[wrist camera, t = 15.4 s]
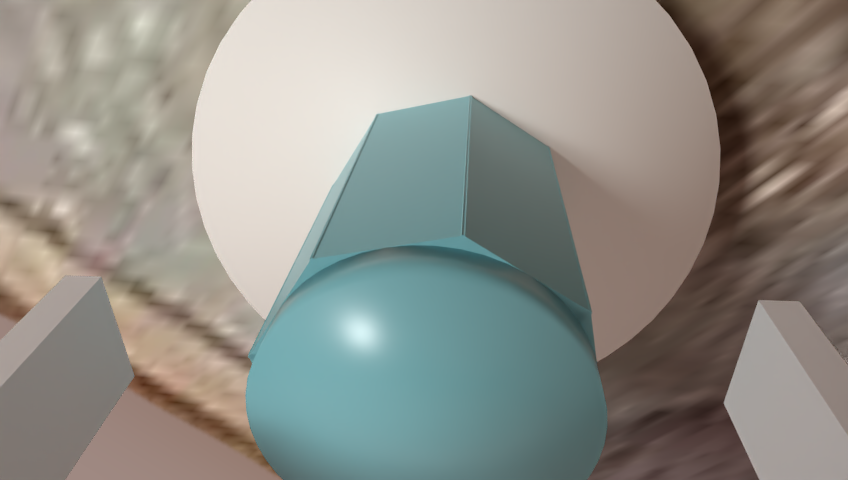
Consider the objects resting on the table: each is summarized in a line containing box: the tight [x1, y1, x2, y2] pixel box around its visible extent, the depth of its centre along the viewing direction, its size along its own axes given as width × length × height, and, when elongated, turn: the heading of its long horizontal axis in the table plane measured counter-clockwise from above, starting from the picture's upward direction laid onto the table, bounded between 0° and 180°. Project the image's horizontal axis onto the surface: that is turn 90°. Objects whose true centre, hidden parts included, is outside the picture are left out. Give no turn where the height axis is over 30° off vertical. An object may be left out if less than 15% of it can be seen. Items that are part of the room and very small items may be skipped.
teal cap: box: [246, 95, 607, 480], centre depth 15 cm, size 7×7×9 cm
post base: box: [192, 0, 720, 362], centre depth 17 cm, size 16×16×8 cm
